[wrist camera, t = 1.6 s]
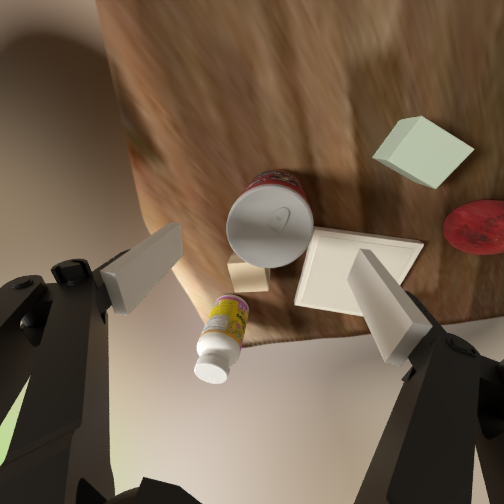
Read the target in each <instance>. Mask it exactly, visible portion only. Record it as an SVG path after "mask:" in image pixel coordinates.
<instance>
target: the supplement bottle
mask: <svg viewBox="0 0 504 504" xmlns="http://www.w3.org/2000/svg"><path fill="white" fill-rule="evenodd" d="M248 314H249V307H248V305H247V303H246V302H245V300H243V299H242V298H241V297H239V296H236V295H232V294H227V295H223V296H221V297H219V298H218V299H217V300H216V302H215V304H214V306H213V308H212V311H211V313H210V315H209V318H208V320H207V322H206V325H205V327H204V329H203V332H202V334H201V336H200V338H199V340H198V343H197V352H198V354H199V356H200V358H199V359H198V360H197V363H196V365H195V368H194V372H195V374H196V375H197V376H198V377H199V378H200V379H201V380H203V381H205V382H208V383H212V384H219V383H223V382H225V381H226V380H227V378H228V374H229V370H230V369H229V366H231V365H232V364H234V363H235V362H236V361H237V360H238V358H239V356H240V351H241V347H242V342H243V337H244V333H245V328H246V324H247V319H248Z"/></svg>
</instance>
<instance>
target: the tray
mask: <svg viewBox="0 0 504 504" xmlns="http://www.w3.org/2000/svg"><path fill="white" fill-rule="evenodd" d="M423 246H424V244H423V243H422V242H421V241H419V240H413V239H406V238H398V237H391V236H383V235H376V234H368V233H361V232H353V231H346V230H338V229H331V228H323V227H316V226H314V227H313V235H312V238H311V241H310V243H309V246H308V250H307V254H306V258H305V262H304V265H303V269H302V273H301V277H300V281H299V285H298V288H297V292H296V296H295V300H294V301H295V305H298V306H304V307H310V308H316V309H322V310H328V311H334V312H340V313H346V314H352V315H358V316H363V314H362V312H361V310H360V307H359V305H358V303H357V301H356V299H355V296H354V294H353V292H352V290H351V288H350V286H349V283H348V281H347V278H348V275H349V273H350V271H351V268H352V266H353V263H354V261H355V258H356V256H357V253H358V251H359V248H361V249H368V250H371V251H372V252H373V253H374V254H375V256H376V257H377V258H378V259H379V261H380V262H381V263H382V264H383V265H384V267H385V268H386V269H387V270H388V272H389V273H390V274H391V275H392V277H393V278H394V279H395V280H396V281H397V283H398V284H399V285H401V283H402V281H403V280H404V278H405V276H406V275H407V273H408V271H409V270H410V268H411V266H412V264H413V263H414V261H415V259H416V258H417V256H418V254H419V253H420V251H421V249H422V248H423Z"/></svg>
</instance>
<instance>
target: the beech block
mask: <svg viewBox="0 0 504 504" xmlns="http://www.w3.org/2000/svg"><path fill="white" fill-rule="evenodd" d="M227 265H228V269H229V272H230V276H231V280H232V283H233V287H234V291H235V292H254V291H268V289H269V280H270V268H261V267H257V266H254V265H251V264H249V263H247V262H245V261H244V260H242V259H241V258H240V257H239V256H238V255H237V254H236V253H235V252H234V251H233V253H232V255H231V257H230V259H229V261H228V263H227Z"/></svg>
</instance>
